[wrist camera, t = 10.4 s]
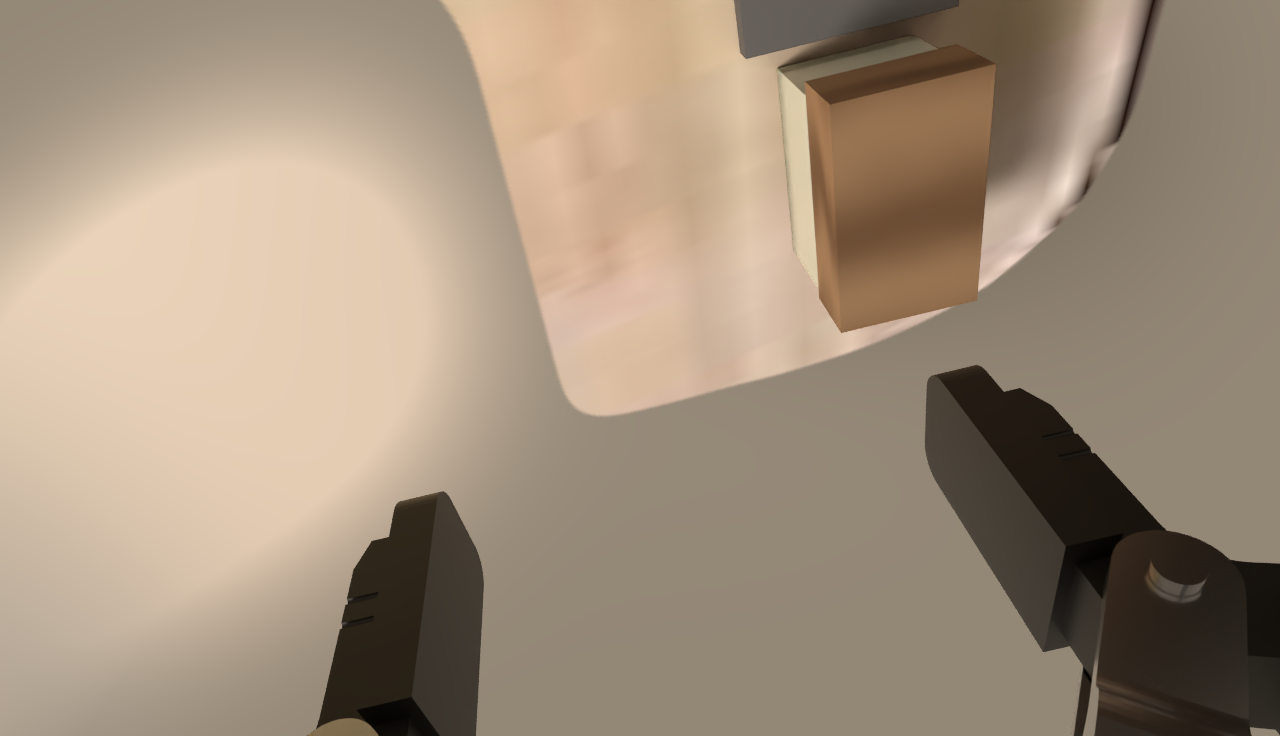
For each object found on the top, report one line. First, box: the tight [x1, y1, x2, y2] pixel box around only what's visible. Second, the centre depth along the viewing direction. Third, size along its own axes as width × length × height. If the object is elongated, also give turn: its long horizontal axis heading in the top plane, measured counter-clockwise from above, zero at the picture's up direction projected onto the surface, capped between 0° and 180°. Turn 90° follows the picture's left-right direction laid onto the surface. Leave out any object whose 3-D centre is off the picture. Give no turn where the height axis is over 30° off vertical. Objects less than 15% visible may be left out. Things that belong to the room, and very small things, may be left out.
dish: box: [777, 35, 938, 289], centre depth 34 cm, size 9×6×4 cm, turn 12°
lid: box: [805, 44, 996, 333], centre depth 31 cm, size 10×6×3 cm, turn 12°
